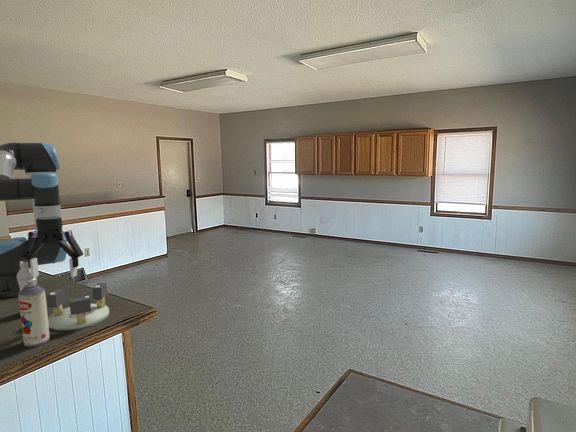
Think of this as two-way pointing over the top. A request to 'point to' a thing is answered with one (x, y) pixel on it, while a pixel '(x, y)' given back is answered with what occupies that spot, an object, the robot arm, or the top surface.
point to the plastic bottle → (24, 275)
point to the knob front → (80, 308)
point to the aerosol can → (34, 315)
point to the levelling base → (70, 321)
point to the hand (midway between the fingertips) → (54, 276)
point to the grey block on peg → (100, 294)
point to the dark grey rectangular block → (57, 301)
